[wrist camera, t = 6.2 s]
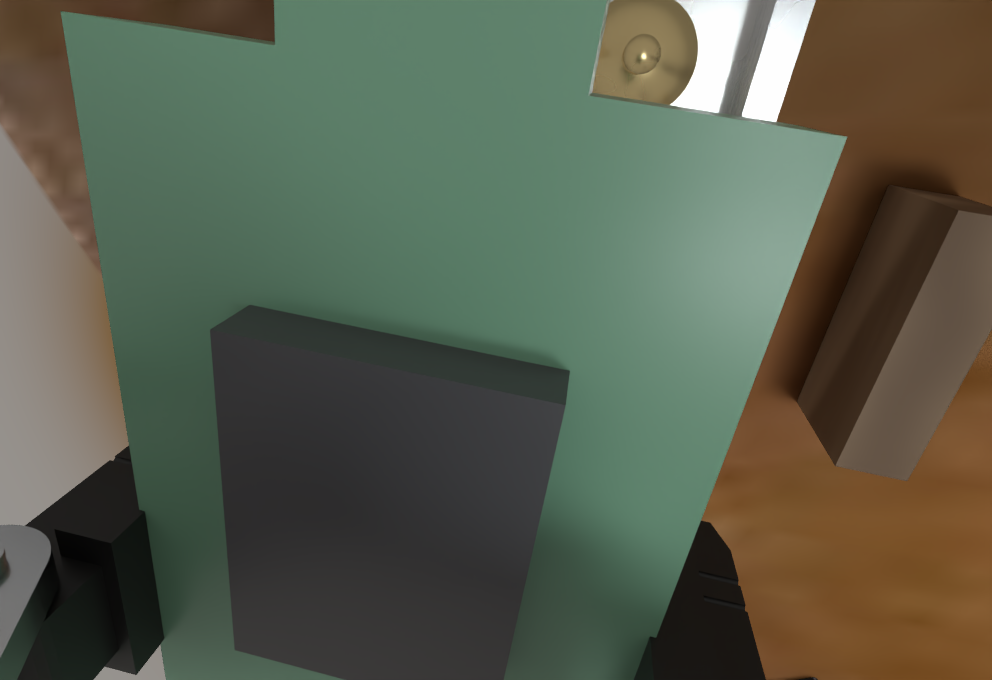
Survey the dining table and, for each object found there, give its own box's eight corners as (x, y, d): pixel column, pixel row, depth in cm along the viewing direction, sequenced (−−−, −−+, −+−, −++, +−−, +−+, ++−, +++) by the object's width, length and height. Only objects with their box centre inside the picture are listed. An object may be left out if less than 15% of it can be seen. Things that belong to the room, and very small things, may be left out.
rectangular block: (960, 196, 20) (1049, 225, 16) (856, 413, 24) (907, 481, 20) (889, 184, 20) (958, 210, 16) (796, 401, 24) (835, 466, 20)
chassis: (790, -17, 19) (874, -62, 13) (638, 478, 27) (647, 587, 21) (400, -70, 20) (315, -133, 14) (372, 419, 28) (311, 508, 22)
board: (883, -131, 4) (1048, -256, 3) (528, 903, 11) (516, 1045, 10) (143, -216, 5) (-87, -363, 3) (237, 816, 12) (177, 935, 10)
